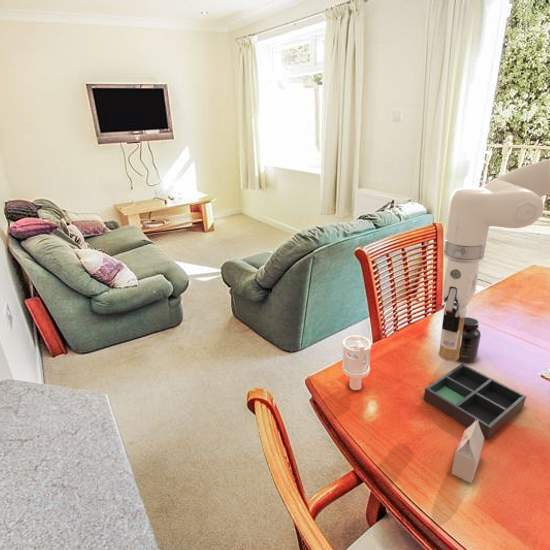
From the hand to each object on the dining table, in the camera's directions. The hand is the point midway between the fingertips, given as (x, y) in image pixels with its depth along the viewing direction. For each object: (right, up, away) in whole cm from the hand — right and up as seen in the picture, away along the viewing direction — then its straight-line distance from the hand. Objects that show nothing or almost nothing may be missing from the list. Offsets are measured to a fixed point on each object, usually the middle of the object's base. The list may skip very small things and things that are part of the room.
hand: (453, 324), depth 85 cm
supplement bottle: (+15, -13, +25) cm, 32 cm away
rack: (+8, -21, +8) cm, 24 cm away
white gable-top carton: (-1, -28, -8) cm, 29 cm away
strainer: (-19, -19, +16) cm, 31 cm away
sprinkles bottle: (+1, -8, +4) cm, 9 cm away
